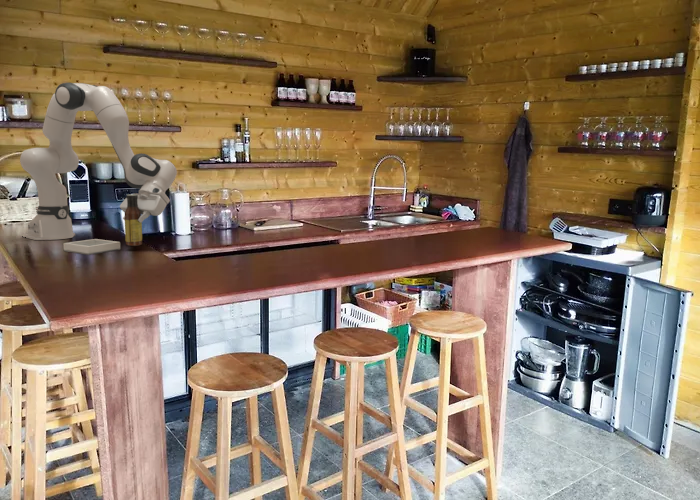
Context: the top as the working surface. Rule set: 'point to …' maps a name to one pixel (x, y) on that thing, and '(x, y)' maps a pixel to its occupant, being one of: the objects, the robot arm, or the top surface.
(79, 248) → the tray
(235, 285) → the top surface
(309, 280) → the top surface
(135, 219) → the sauce bottle
